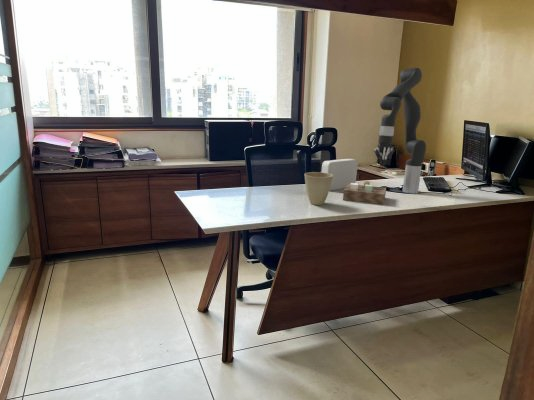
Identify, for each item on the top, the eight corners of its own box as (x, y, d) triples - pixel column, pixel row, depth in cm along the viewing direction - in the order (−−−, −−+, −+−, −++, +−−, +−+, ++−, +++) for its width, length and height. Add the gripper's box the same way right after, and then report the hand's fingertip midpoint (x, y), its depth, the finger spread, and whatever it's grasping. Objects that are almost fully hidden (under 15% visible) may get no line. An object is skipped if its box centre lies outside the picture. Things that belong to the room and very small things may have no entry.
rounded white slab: (346, 184, 257) (348, 157, 253) (355, 186, 252) (357, 159, 247) (317, 188, 240) (319, 160, 235) (326, 191, 234) (328, 162, 229)
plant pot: (324, 199, 213) (326, 171, 209) (334, 206, 199) (337, 177, 195) (299, 200, 209) (301, 171, 205) (307, 207, 195) (309, 177, 191)
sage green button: (372, 193, 213) (372, 185, 212) (371, 195, 210) (372, 186, 209) (364, 192, 215) (365, 184, 213) (364, 194, 211) (364, 185, 210)
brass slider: (369, 186, 221) (370, 181, 220) (369, 187, 218) (369, 182, 217) (364, 186, 222) (364, 180, 221) (363, 187, 219) (364, 181, 218)
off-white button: (357, 192, 216) (358, 183, 215) (356, 193, 212) (357, 184, 211) (350, 191, 217) (351, 182, 216) (349, 192, 214) (350, 184, 212)
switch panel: (385, 197, 222) (386, 187, 221) (383, 205, 206) (384, 193, 204) (347, 193, 229) (348, 183, 228) (342, 200, 213) (343, 189, 211)
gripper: (392, 134, 212) (387, 165, 216) (372, 133, 207) (368, 164, 212) (400, 135, 205) (396, 167, 209) (380, 134, 201) (376, 167, 205)
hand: (382, 165), depth 210 cm, fingers closed
